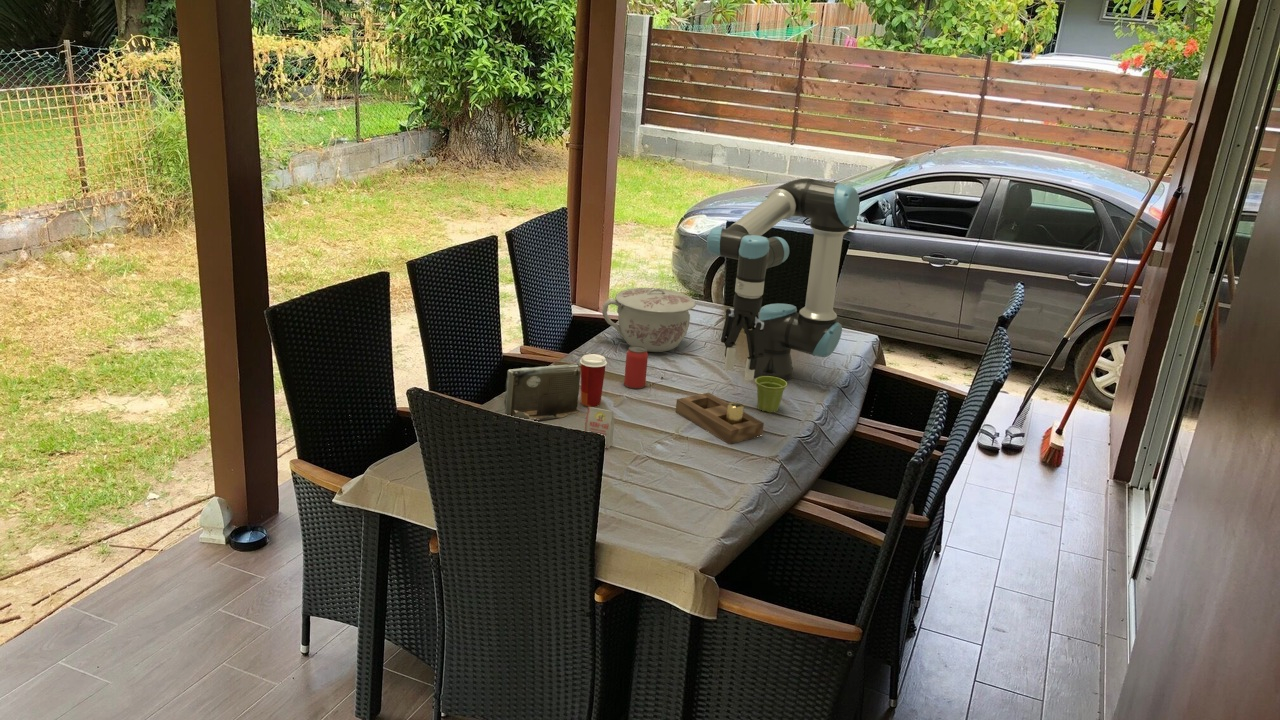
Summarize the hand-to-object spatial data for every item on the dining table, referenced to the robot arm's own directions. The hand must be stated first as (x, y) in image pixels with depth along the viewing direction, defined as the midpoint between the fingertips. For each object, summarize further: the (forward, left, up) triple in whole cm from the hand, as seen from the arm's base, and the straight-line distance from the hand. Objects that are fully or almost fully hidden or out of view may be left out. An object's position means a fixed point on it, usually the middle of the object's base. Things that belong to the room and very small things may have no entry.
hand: (738, 374), depth 265 cm
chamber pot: (-21, -68, -17) cm, 73 cm away
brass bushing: (0, 0, -17) cm, 17 cm away
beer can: (+5, -40, -17) cm, 44 cm away
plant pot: (-21, -8, -17) cm, 28 cm away
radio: (+42, -33, -17) cm, 56 cm away
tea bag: (+38, -10, -17) cm, 43 cm away
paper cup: (+25, -34, -17) cm, 46 cm away
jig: (0, -6, -17) cm, 18 cm away
